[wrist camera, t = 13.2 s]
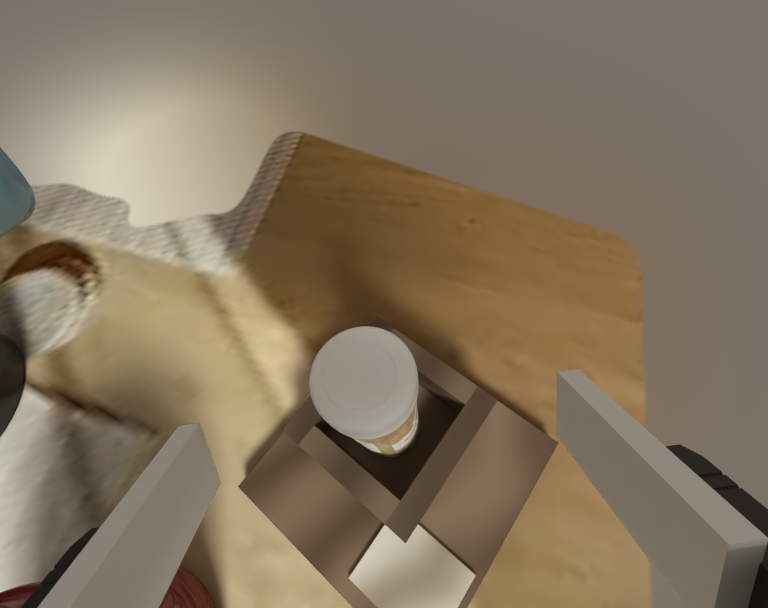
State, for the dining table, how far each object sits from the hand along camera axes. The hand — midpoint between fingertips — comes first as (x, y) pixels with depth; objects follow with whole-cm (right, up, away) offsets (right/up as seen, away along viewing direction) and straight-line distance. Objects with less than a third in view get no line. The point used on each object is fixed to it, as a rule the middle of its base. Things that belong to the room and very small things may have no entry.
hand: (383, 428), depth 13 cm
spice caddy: (+1, -7, +13) cm, 15 cm away
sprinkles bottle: (0, -4, +13) cm, 14 cm away
